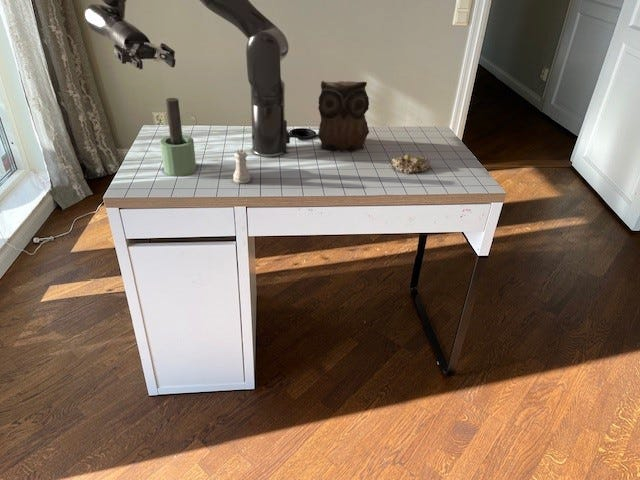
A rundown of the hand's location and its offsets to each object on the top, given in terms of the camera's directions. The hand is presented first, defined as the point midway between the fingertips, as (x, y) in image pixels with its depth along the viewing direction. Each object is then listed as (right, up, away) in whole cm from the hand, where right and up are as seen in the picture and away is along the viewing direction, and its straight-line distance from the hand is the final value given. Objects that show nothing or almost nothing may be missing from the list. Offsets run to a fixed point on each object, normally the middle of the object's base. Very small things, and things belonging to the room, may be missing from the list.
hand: (157, 64), depth 123 cm
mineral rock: (+66, -24, +15) cm, 72 cm away
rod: (+4, -25, +7) cm, 26 cm away
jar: (+4, -25, +7) cm, 26 cm away
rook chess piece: (+21, -29, +3) cm, 36 cm away
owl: (+47, -15, +27) cm, 57 cm away
